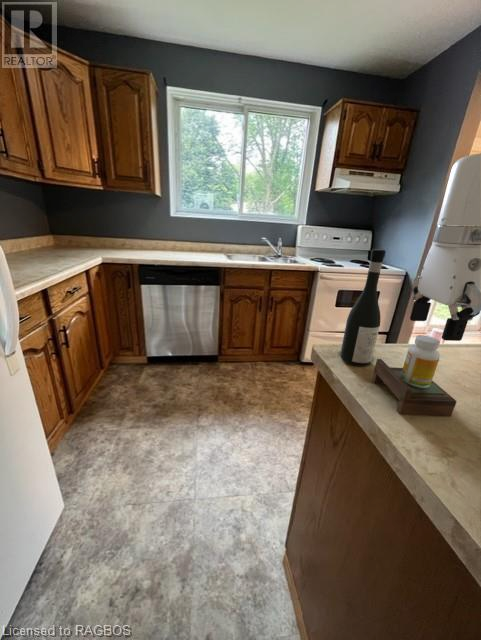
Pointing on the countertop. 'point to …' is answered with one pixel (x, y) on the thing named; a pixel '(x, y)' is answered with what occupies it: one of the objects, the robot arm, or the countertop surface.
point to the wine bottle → (364, 318)
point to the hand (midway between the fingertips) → (432, 329)
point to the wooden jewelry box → (414, 393)
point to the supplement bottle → (421, 362)
